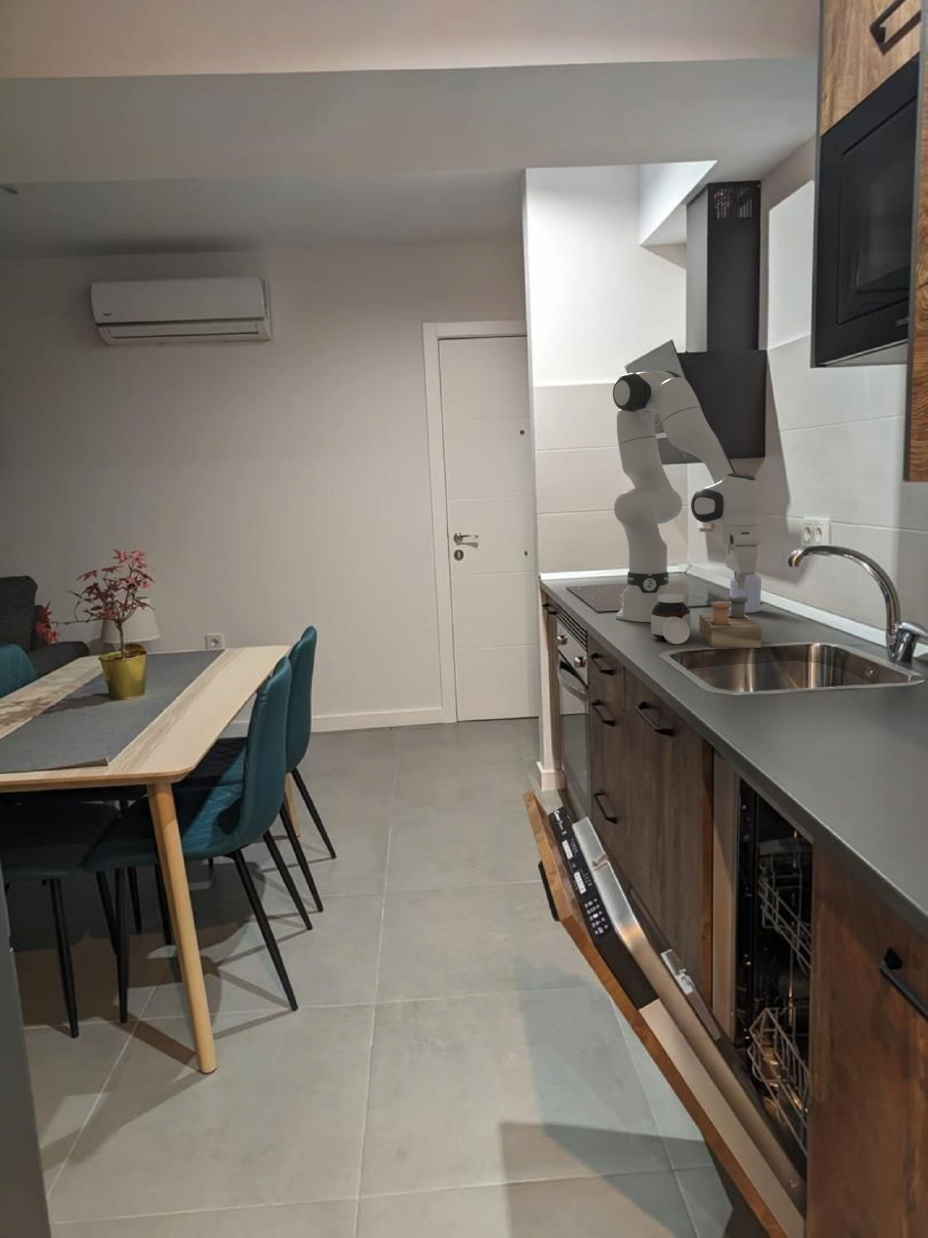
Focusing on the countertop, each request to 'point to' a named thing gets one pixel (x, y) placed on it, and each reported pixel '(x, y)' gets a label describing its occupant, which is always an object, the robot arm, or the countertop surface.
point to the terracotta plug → (720, 613)
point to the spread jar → (671, 619)
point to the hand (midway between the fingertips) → (739, 588)
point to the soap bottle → (748, 592)
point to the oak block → (730, 632)
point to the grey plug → (738, 606)
